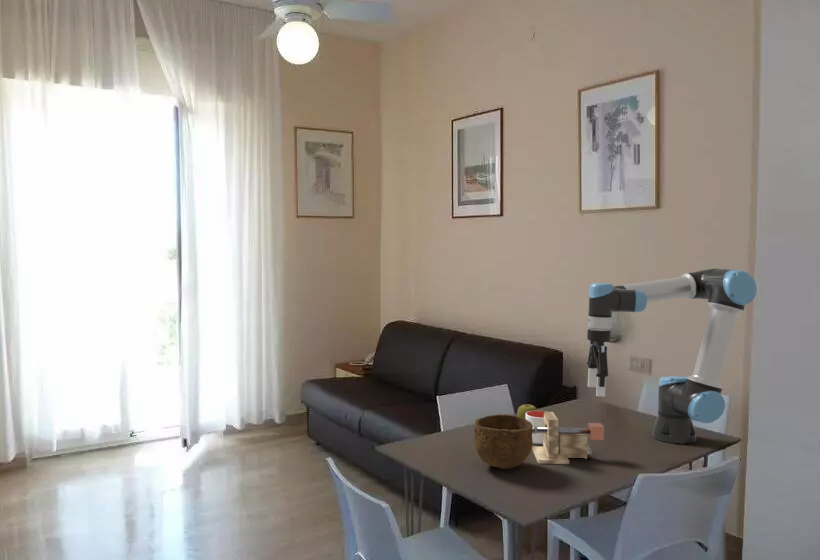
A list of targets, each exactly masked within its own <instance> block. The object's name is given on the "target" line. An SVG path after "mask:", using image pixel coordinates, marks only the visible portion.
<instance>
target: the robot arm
mask: <svg viewBox="0 0 820 560" xmlns="http://www.w3.org/2000/svg"><path fill="white" fill-rule="evenodd" d="M756 295H757V284H756V281H755V279H754V278H753V276H752V275H751V274H750V273H749V272H746V271H744V270H740V269H734V268H733V269H727V268H708V269H707V268H706V269H704V270H698V271H693V272H686V273H683V274H682V275H681V276H678V277H672V278H671V277H670V278H663V279H655V280H649V281H642V282H635V283H627V284H621V285H615V286H614V285H613V284H612V283H604V282H603V283H602V282H593V283H591V284H590V286H589V292H588V318H586V322H587V327H588V329H587V331H586V332H587V333H586V339H587V341H589V342H590V344H589V345H590V346H589V349H588V350H589V351H588V357H587V361H586V363H587V366H588V372H587V374H588V375H587V387H588V388H596V390H595V396H596V397H606V386H607V385H606V382H607V377H608V376H609V369H608V368H609V367H608V351H607V350H608V347H607V346H606V345H605V343H608V342H610V341H611V335H612V334H611V333H612V332H611V329H612V314H613V313H615V312H624V313H625V312H626V313H640V312H643V311H644V310H645V309H646V308H647V304H648V303H652V302H653V303H654V302H661V301H667V300H668V301H669V300H675V299H681V298H682V299H683V298H685V299H686V300H695V299H700V300H707V305H708V306H709V308H710V309H709V315H708V319H707V322H706V325H705V329H704V333H703V337H702V340H701V343H700V347H699V351H698V354H697V357H696V362H695V364H694V365H695V366H694V369H693V373H692V375H689V376H680V375H675V376H674V375H669V376H668V375H667V376H661V377H660V378H659V381H658V386H657V388H658V399H657V400H658V402H657V403H658V404H657V417H656V418H655V423H654V425H653V427H652V434H651V435H652V437H653V438H654V439H655V440H657V441H658V440H659V441H661V442H665V443H669V444H670V443H671V444H676V443H679V444H680V445H686V443H689V444H693V442H694V443H696V442H697V433H696V429H695V426H694V422H693V421H695V422H699V423H702V424H711V423H714V422H715V421H717V420H718V419H720V417H721V416H722V415H724V412H725V409H726V401H725V400H724V397H723V395H722V391H723V386H722V385H721V383H720V380H721V376H722V373H723V369H724V366H725V361H726V358H727V354H728V351H729V346H730V344H731V339H732V336H733V332H734V328H735V325H736V320H737V317H738V316H739V315H740V314H742V313H744V311H745V307H746V305H748V304H750V303H751V302H753V301H754V300H755V297H756ZM679 444H678V445H679Z"/></svg>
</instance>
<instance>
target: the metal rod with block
mask: <svg viewBox="0 0 820 560" xmlns="http://www.w3.org/2000/svg"><path fill="white" fill-rule="evenodd" d="M532 429H533V433H534V434H536V433H547V427H533V428H532ZM559 434H586V435H587V436H588V438H589V440H592V441H595V440H596V441H604V440H605V426H604V425H603V424H602V423H601V422H587V427H558V435H559Z"/></svg>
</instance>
